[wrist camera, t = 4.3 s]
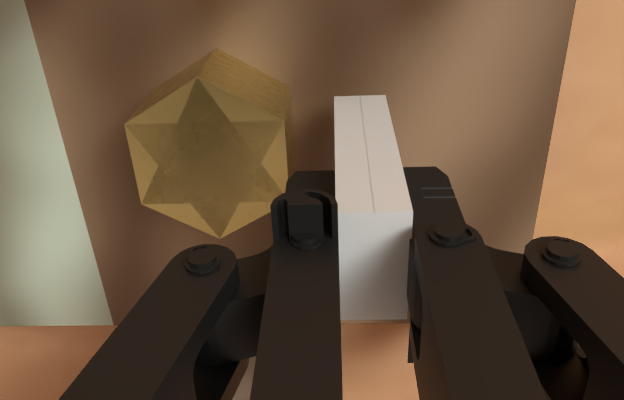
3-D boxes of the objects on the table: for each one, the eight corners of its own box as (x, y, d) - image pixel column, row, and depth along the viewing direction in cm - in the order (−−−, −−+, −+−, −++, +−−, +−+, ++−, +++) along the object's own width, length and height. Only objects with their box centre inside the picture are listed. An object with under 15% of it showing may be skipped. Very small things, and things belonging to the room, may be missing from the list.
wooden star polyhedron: (171, 194, 20) (148, 240, 18) (144, 50, 18) (114, 79, 15) (296, 192, 20) (291, 237, 18) (288, 45, 17) (281, 74, 15)
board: (-39, 307, 25) (-142, 430, 19) (-246, -164, 16) (-533, -178, 11) (508, 302, 24) (561, 430, 18) (594, -204, 15) (738, -243, 10)
